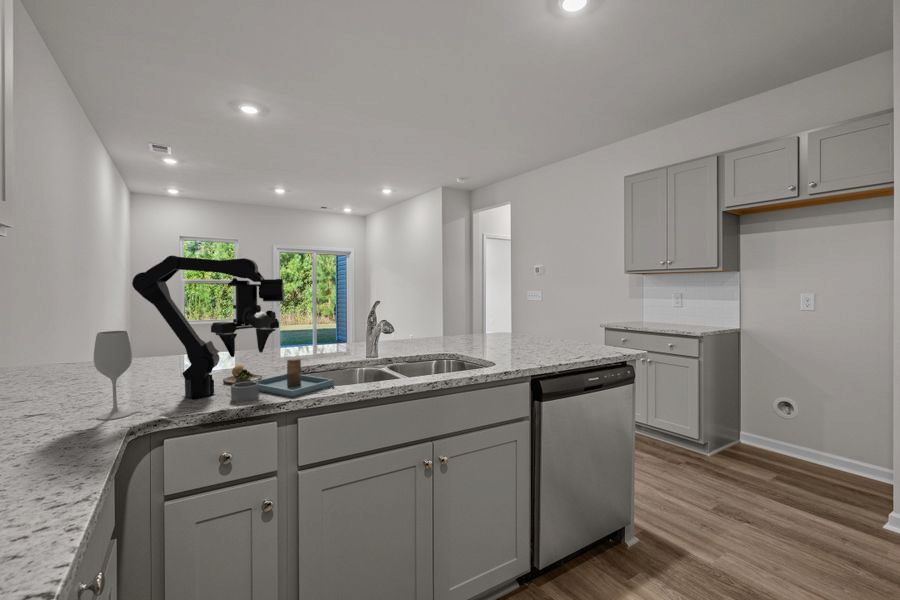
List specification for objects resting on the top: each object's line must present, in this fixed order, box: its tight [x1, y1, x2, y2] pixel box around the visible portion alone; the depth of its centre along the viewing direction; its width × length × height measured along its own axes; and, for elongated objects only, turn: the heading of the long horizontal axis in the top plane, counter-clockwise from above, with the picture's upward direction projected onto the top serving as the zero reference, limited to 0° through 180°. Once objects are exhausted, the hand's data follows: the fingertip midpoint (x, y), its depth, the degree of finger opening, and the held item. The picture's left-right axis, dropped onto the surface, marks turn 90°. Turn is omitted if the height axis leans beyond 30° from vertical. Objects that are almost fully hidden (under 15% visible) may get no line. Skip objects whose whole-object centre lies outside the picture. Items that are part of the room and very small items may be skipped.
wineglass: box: [93, 330, 134, 421], centre depth 110 cm, size 8×8×21 cm
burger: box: [222, 364, 263, 386], centre depth 145 cm, size 12×12×8 cm
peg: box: [286, 358, 302, 387], centre depth 137 cm, size 4×4×8 cm
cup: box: [230, 380, 260, 403], centre depth 124 cm, size 7×7×4 cm
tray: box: [252, 373, 335, 399], centre depth 137 cm, size 16×20×2 cm
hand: (247, 354), depth 130 cm, fingers open, 9 cm apart
